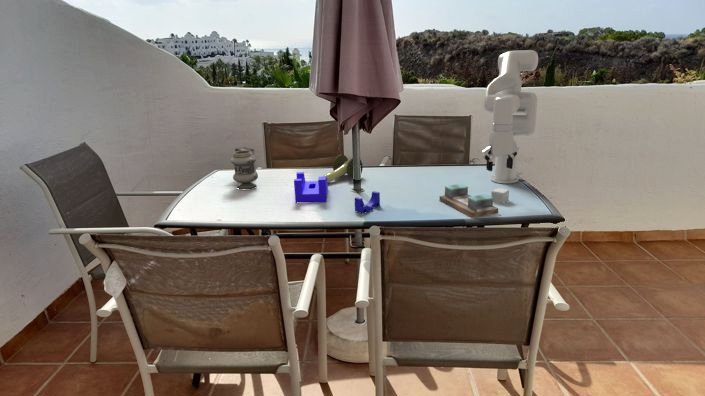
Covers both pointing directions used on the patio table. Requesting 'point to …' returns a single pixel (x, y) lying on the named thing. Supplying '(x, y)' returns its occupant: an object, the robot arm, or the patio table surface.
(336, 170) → the cannon
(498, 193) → the small box
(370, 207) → the blue u-shaped piece
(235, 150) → the grey brown jug
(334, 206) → the patio table surface
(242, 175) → the apothecary jar
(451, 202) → the board
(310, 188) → the bracket
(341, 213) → the patio table surface
